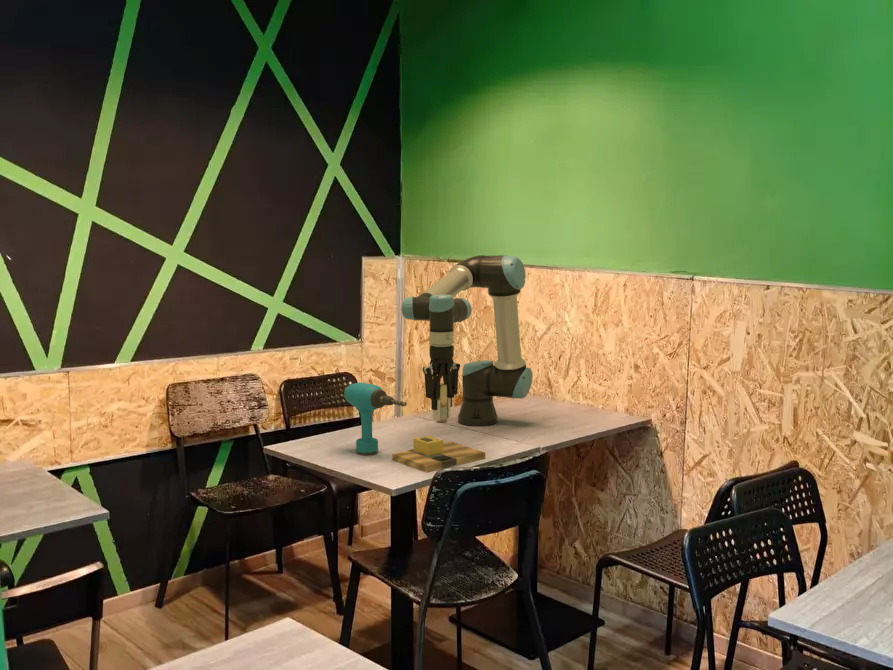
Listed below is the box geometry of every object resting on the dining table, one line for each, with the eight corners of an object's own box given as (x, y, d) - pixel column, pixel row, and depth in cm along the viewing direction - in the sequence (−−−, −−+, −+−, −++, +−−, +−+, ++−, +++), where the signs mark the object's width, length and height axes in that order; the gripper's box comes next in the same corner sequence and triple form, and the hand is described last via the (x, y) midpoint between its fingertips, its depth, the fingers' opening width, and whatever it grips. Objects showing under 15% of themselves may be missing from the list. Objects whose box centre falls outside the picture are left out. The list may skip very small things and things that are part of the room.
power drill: (416, 460, 273) (415, 389, 270) (396, 466, 266) (396, 393, 263) (358, 445, 292) (356, 378, 288) (338, 450, 285) (337, 382, 282)
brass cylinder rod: (434, 421, 266) (434, 384, 265) (442, 420, 269) (442, 382, 267) (441, 423, 264) (440, 385, 262) (449, 422, 266) (449, 384, 264)
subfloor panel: (392, 459, 274) (392, 453, 274) (450, 446, 289) (450, 441, 288) (426, 472, 260) (426, 466, 260) (485, 458, 275) (485, 452, 275)
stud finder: (413, 450, 277) (413, 437, 276) (428, 447, 281) (428, 434, 280) (428, 455, 271) (428, 442, 270) (443, 452, 275) (443, 439, 274)
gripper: (427, 348, 255) (428, 424, 258) (469, 343, 265) (469, 417, 268) (413, 345, 261) (413, 420, 264) (454, 341, 271) (454, 413, 274)
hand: (441, 418), depth 266 cm, fingers closed on brass cylinder rod, 3 cm apart
